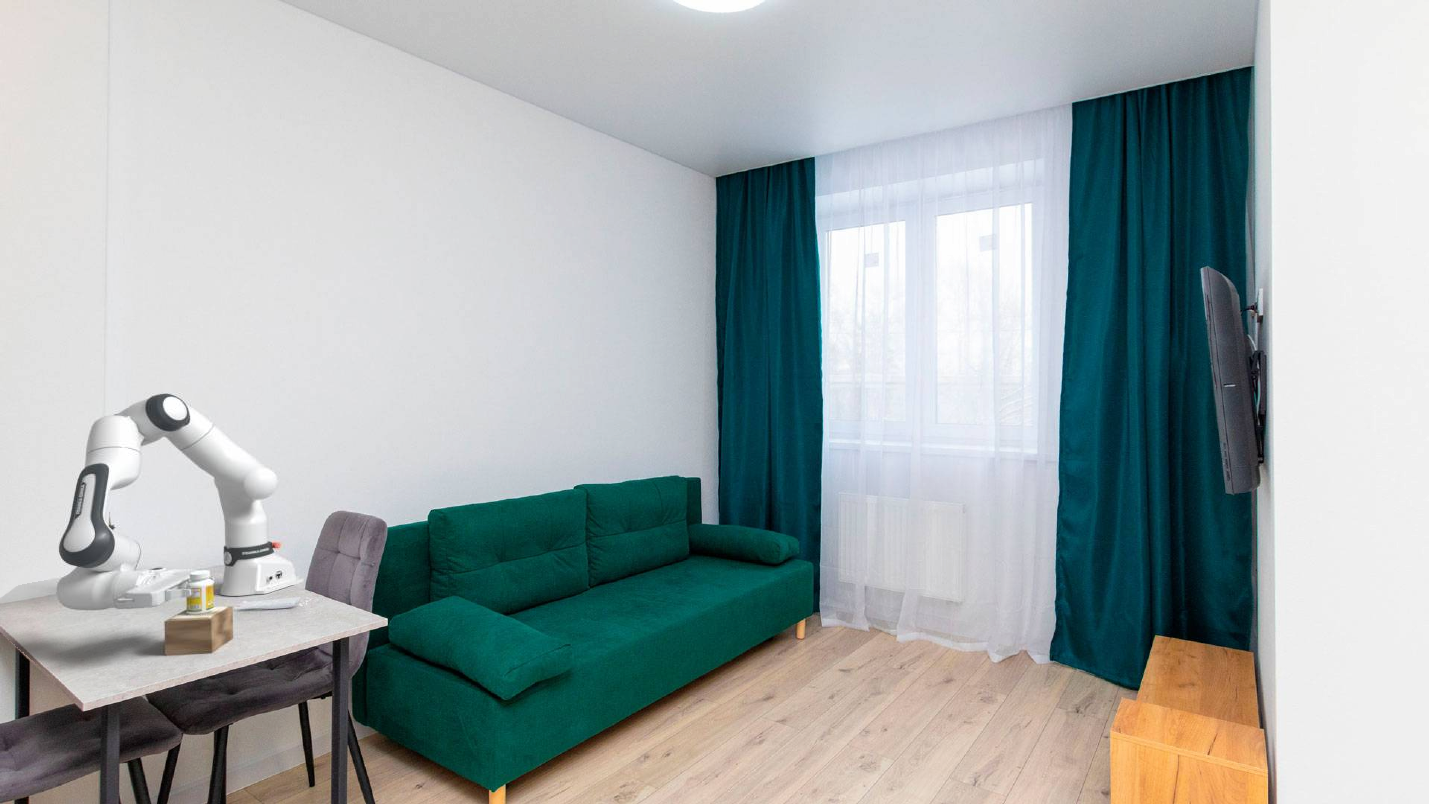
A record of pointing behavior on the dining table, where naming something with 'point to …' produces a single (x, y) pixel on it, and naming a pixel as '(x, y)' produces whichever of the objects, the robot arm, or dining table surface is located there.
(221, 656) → the dining table surface
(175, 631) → the walnut block
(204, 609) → the supplement bottle
